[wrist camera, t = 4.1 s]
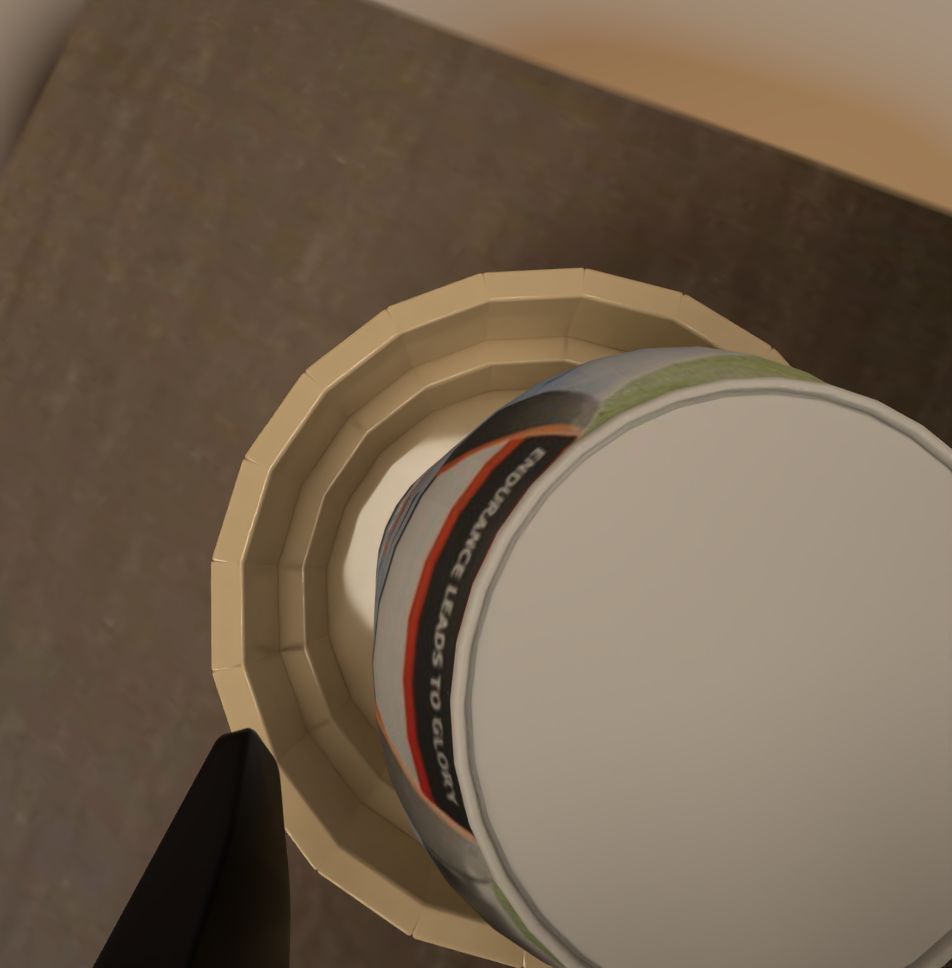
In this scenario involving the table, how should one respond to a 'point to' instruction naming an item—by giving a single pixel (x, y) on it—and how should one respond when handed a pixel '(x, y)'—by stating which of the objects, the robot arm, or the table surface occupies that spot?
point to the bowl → (357, 537)
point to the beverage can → (680, 669)
